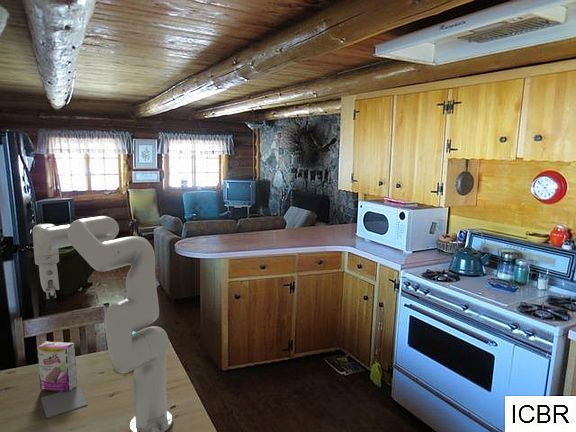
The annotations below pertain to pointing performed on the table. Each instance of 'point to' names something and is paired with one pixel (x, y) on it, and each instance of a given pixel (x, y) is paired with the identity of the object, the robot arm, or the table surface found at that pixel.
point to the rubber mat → (63, 402)
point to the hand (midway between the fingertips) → (50, 304)
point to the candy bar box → (57, 366)
